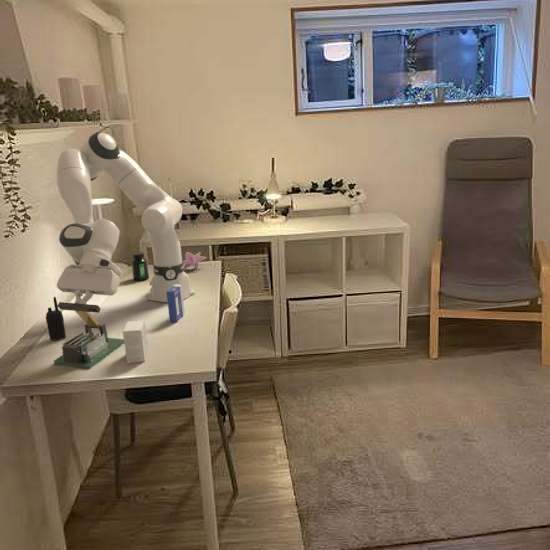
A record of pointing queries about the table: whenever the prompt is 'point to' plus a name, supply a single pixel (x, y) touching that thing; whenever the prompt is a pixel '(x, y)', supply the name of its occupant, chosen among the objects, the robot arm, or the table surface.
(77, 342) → the board
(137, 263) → the supplement bottle
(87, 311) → the lever
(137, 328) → the small box
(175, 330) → the table surface
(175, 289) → the walkman
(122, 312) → the table surface
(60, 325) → the two-way radio
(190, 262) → the lily
